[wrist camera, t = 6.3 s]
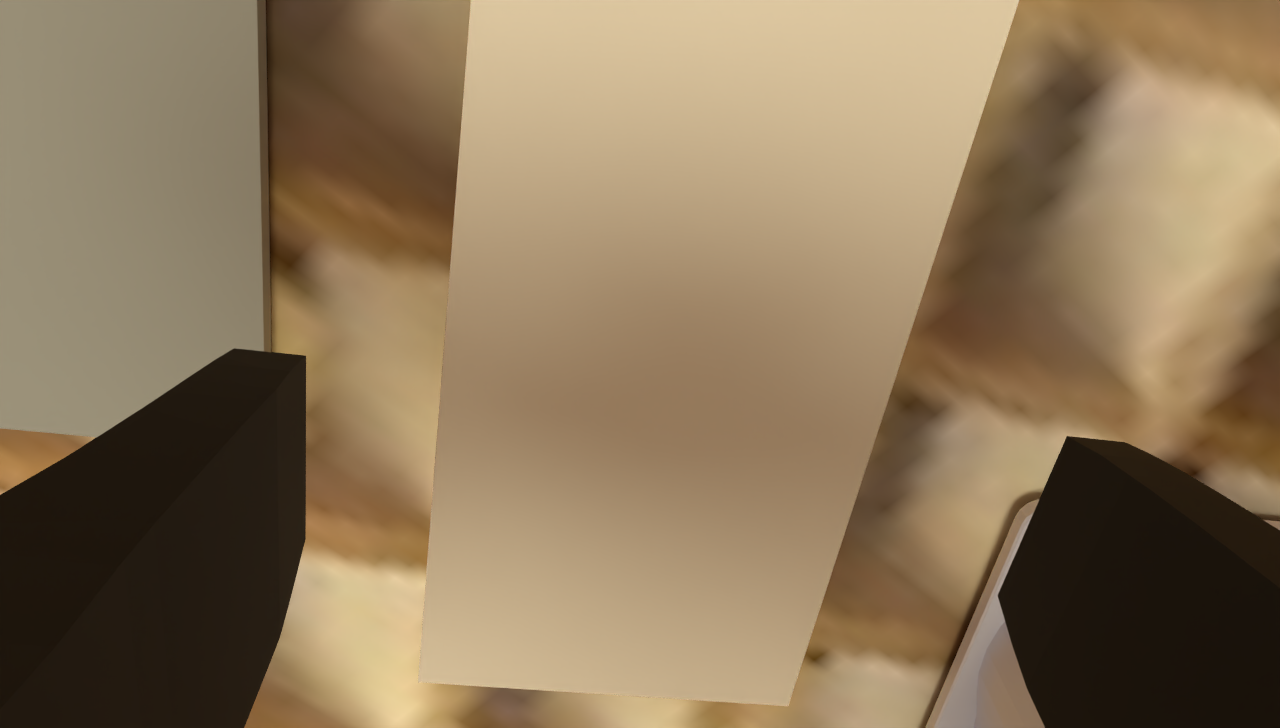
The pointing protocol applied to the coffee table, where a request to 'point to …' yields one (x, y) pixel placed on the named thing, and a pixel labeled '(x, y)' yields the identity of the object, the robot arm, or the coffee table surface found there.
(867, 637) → the coffee table surface
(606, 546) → the off-white block
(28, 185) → the grey mat
